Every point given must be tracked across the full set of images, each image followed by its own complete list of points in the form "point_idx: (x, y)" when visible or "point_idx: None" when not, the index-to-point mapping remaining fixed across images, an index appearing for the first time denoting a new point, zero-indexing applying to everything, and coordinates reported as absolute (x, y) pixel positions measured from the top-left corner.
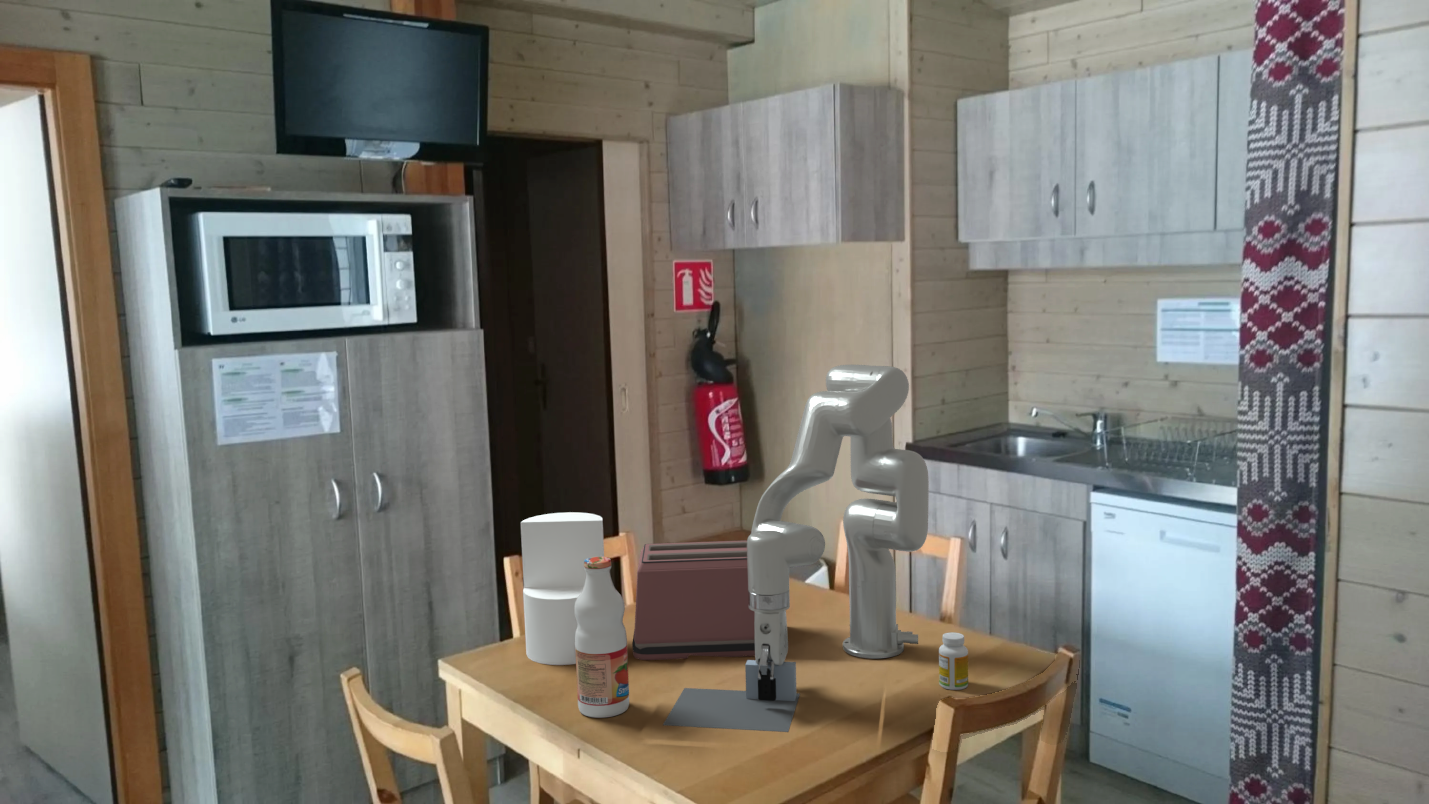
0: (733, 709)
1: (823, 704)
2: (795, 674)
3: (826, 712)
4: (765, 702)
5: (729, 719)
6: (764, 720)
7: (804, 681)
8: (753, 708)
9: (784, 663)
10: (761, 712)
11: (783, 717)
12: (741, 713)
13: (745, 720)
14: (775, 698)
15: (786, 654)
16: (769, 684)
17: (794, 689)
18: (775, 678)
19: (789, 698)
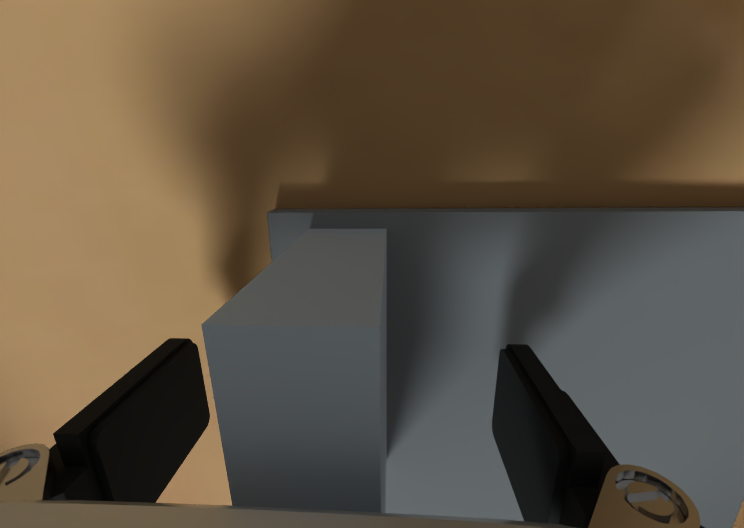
0: None
1: (350, 49)
2: (298, 274)
3: (475, 9)
4: (424, 375)
5: None
6: (668, 354)
7: (47, 213)
8: None
9: (289, 443)
10: (557, 379)
11: (631, 263)
12: None
13: (656, 435)
14: (528, 348)
15: (156, 512)
16: (614, 463)
17: (385, 247)
18: (578, 452)
19: (386, 263)
